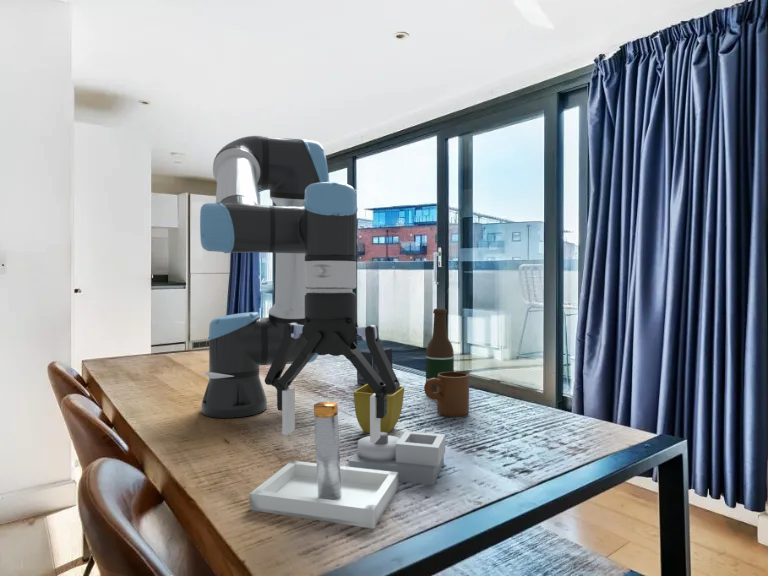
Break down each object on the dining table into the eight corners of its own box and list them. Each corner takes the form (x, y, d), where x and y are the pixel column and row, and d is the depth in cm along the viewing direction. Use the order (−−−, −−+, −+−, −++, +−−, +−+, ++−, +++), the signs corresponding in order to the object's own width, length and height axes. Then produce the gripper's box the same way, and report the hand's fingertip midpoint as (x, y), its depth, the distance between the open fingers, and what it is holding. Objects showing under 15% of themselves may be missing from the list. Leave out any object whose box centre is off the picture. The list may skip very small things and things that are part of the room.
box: (376, 379, 161) (376, 346, 160) (393, 381, 157) (393, 348, 157) (355, 385, 152) (355, 350, 152) (373, 387, 148) (373, 352, 148)
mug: (434, 422, 112) (434, 380, 112) (415, 414, 119) (415, 375, 119) (475, 415, 119) (475, 375, 118) (455, 407, 125) (455, 370, 125)
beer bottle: (423, 392, 141) (423, 307, 141) (450, 392, 142) (450, 307, 142) (428, 399, 134) (428, 309, 133) (456, 398, 134) (457, 309, 134)
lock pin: (314, 499, 72) (309, 407, 71) (323, 489, 75) (319, 401, 75) (336, 502, 71) (331, 408, 70) (344, 491, 74) (340, 401, 74)
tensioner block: (348, 475, 82) (348, 441, 82) (367, 455, 92) (367, 424, 92) (436, 485, 78) (436, 449, 78) (446, 463, 88) (446, 430, 88)
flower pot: (405, 427, 109) (405, 386, 109) (392, 439, 101) (392, 394, 100) (367, 423, 112) (367, 383, 112) (352, 435, 103) (352, 391, 103)
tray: (249, 511, 70) (249, 493, 70) (291, 475, 82) (291, 460, 82) (373, 529, 65) (373, 509, 65) (398, 488, 77) (398, 472, 77)
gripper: (240, 291, 73) (241, 436, 73) (408, 292, 66) (408, 452, 66) (266, 289, 80) (266, 422, 80) (419, 291, 73) (419, 435, 74)
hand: (330, 436), depth 73 cm, fingers open, 13 cm apart
